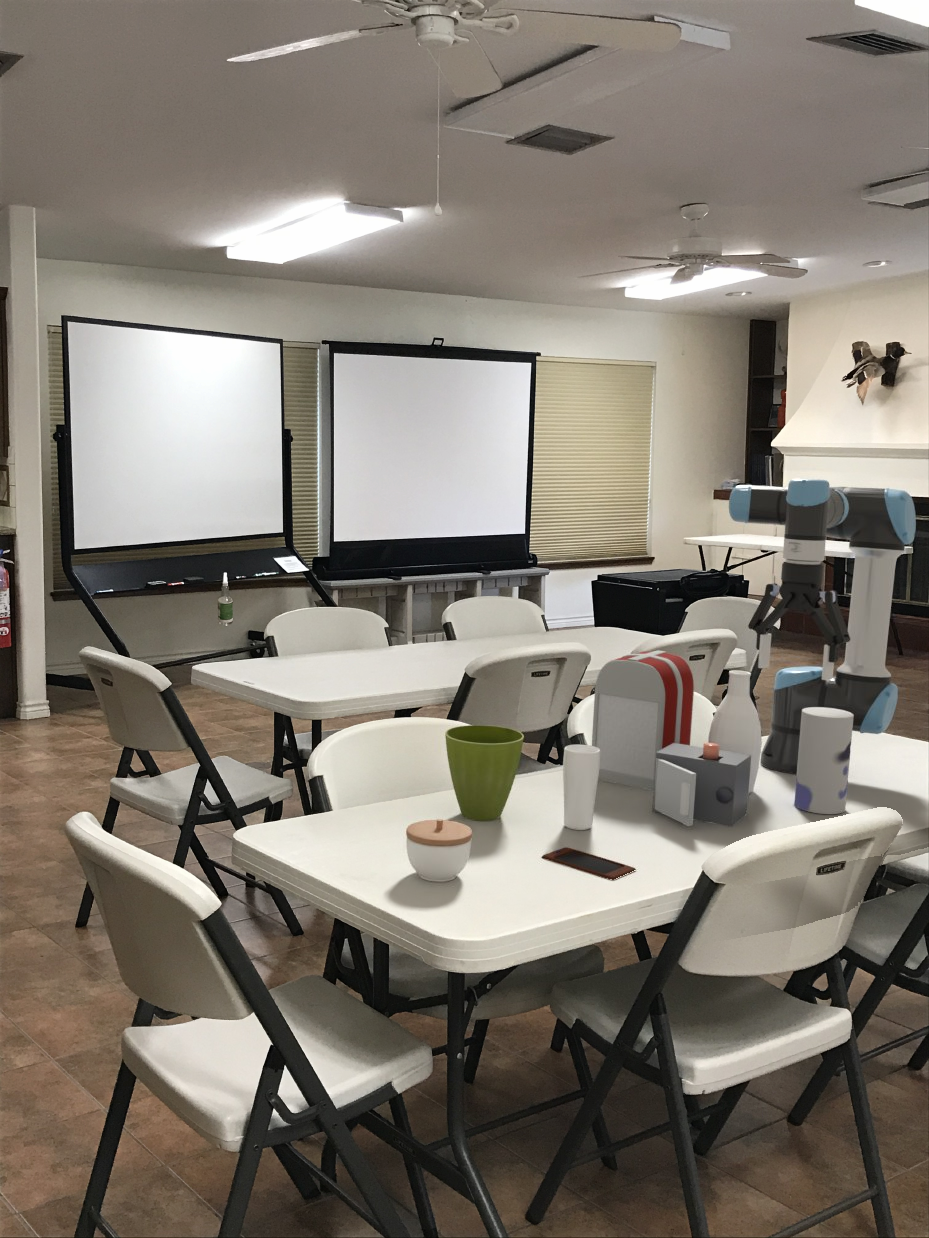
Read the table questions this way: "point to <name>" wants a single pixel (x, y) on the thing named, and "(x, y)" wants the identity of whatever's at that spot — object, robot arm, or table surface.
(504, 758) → the flower pot
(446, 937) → the table surface
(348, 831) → the table surface
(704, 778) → the box
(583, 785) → the drinking glass
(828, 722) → the container
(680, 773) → the side door
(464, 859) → the lidded jar
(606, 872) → the smartphone
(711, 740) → the bottle
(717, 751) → the latch button
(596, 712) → the striped box
